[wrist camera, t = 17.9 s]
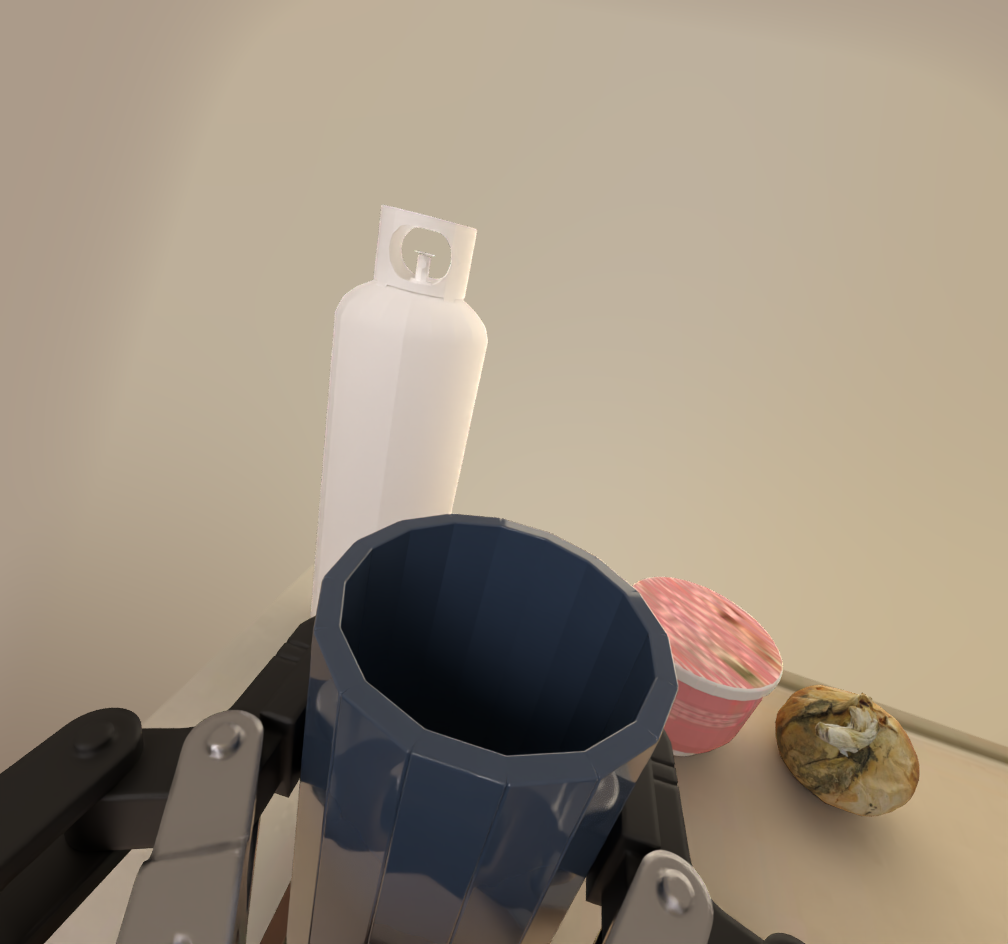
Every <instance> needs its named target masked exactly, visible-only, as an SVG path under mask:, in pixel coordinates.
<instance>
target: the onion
mask: <svg viewBox="0 0 1008 944" xmlns="http://www.w3.org/2000/svg"><path fill="white" fill-rule="evenodd" d="M775 723H776V739H777V744H778V748H779V751H780V755H781V758H782V759H783V761H784V762H785V764H786V765H787V767H788V768H789V770H790V771H791V773H792V774H793V775H794V776H795V778H796V779H797V780H798V781H799V782H800V783H801V784H802V785H804V786H805V787H806V788H807V789H809V790H810V791H811V792H813V793H814V794H815V795H816V796H818V797H819V798H820V799H821V800H822V801H823V802H825V803H827V804H829V805H831V806H834V807H837V808H840V809H842V810H845V811H848V812H851V813H854V814H857V815H860V816H870V817H872V816H879V815H882V814H886V813H890V812H892V811H894V810H895V809H897V808H899V807H901V806H903V805H905V804H906V803H907V802H908V801H909V800H910V799H911V797H912V796H913V794H914V792H915V789H916V786H917V783H918V781H919V762H918V758H917V755H916V752H915V750H914V748H913V746H912V743H911V741H910V739H909V737H908V735H907V734H906V732H905V731H904V730H903V728H902V727H901V725H900V724H899V722H898V721H897V720H896V719H895V718H894V717H892V716H891V715H890V714H888V713H887V712H886V711H884V710H883V709H882V708H881V707H880V706H878V705H877V704H875V703H874V702H873V701H872V698H871V697H867V696H866V694H863V693H862V694H861V695H858V694H855V693H851V692H848V691H844V690H840V689H836V688H832V687H826V686H823V685H815V686H810V687H806V688H804V689H801V690H798V691H797V692H795V693H794V694H792V695H791V696H790V698H789V699H788V700H787V702H786V703H785V704H784V705H783V707H782V708H781V709H780V710H779V711H778V714H777V719H776V722H775Z"/></svg>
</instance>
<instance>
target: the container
mask: <svg viewBox="0 0 1008 944" xmlns="http://www.w3.org/2000/svg"><path fill="white" fill-rule="evenodd" d="M632 586H633V587H634V588H635V589H636V590H637V591H638V592H639V593H640V594H641V596H642V597H643V599H644V600H645V602H646V603H647V605H648V606H649V608H650V609H651V611H652V612H653V613H654V615H655V616H656V618H657V619H658V621H659V622H660V624H661V625H662V627H663V628H664V630H665V631H666V633H667V635H668V637H669V641H670V646H671V651H672V656H673V661H674V666H675V671H676V676H677V681H678V693H677V696H676V698H675V701H674V703H673V706H672V709H671V711H670V714H669V716H668V719H667V722H666V724H665V727H664V730H665V731H666V733H667V735H668V737H669V739H670V741H671V744H672V750H673V755H676V756H691V755H695V754H699V753H705V752H709V751H711V750H714V749H716V748H718V747H720V746H723V745H725V744H727V743H729V742H730V741H731V740H732V739H733V738H734V737H735V736H736V734H737V733H738V732H739V730H740V729H741V728H742V726H743V725H744V724H745V722H746V721H747V720H748V718H749V717H750V715H751V714H752V713H753V711H754V710H755V709H756V707H757V706H758V705H759V703H760V702H761V701H762V698H763V697H765V696H767V695H769V694H770V693H771V692H772V691H773V690H774V689H775V688H776V686H777V684H778V683H779V681H780V679H781V676H782V673H783V661H782V658H781V655H780V652H779V650H778V648H777V646H776V644H775V643H774V641H773V639H772V638H771V637H770V636H769V634H768V633H767V631H766V630H765V629H764V628H763V627H762V626H761V625H760V624H759V623H758V622H757V621H756V620H755V619H754V618H753V617H752V616H751V615H749V614H748V613H747V612H746V611H745V610H743V609H742V608H740V607H739V606H737V605H736V604H734V603H733V602H732V601H730V600H729V599H727V598H725V597H723V596H722V595H720V594H718V593H716V592H714V591H712V590H710V589H708V588H705V587H703V586H701V585H698V584H695V583H692V582H689V581H685V580H681V579H677V578H670V577H650V578H645V579H642V580H640V581H638V582H636V583H635V584H633V585H632Z"/></svg>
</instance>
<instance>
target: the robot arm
mask: <svg viewBox="0 0 1008 944" xmlns="http://www.w3.org/2000/svg"><path fill="white" fill-rule="evenodd" d="M315 616H316V615H315ZM315 616H314V617H312V618H310V619H308V620H307V621H305V622H303V623H302V624H300V625H299V627H298V628H297V629H296V630H295V631H294V633H293V634H292V635H291V636H290V637H289V639H288V640H287V643H284V645H283V646H282V647H281V648H280V649H279V651H278V652H277V654H276V656H274V657H273V658H272V659H271V660H270V661H269V663H268V664H267V665H266V666H265V667H264V669H263V670H262V671H261V672H260V673H259V675H258V676H257V677H256V678H255V679H254V681H253V682H252V683H251V684H250V685H249V687H248V688H247V689H246V690H245V691H244V693H243V694H242V695H241V696H240V697H239V699H238V700H237V701H236V702H235V703H234V705H233V706H232V707H231V708H230V709H229V710H227V711H223V712H220V713H216V714H214V715H212V716H210V717H208V718H206V719H204V720H203V721H201V722H200V723H199V724H197V725H196V726H195V727H189V728H148V729H142V727H141V721H140V719H139V717H138V716H137V715H136V714H135V713H133V712H132V711H130V710H127V709H123V708H105V709H100V710H96V711H93V712H90V713H87V714H85V715H82V716H80V717H78V718H76V719H75V720H73V721H71V722H70V723H68V724H67V725H65V726H64V727H63V728H61V729H60V730H59V731H58V732H56V733H55V734H53V735H52V736H51V737H49V738H48V739H47V740H45V741H44V742H43V743H41V744H40V745H39V746H37V747H36V748H34V749H33V750H32V751H30V752H29V753H28V754H26V755H25V756H24V757H22V758H21V759H20V760H19V761H17V762H16V763H14V764H13V765H12V766H10V767H9V768H8V769H6V770H5V771H4V772H2V773H1V774H0V944H44V943H45V942H46V941H47V940H48V939H49V938H50V937H51V936H52V934H53V933H54V932H55V931H56V930H57V929H58V928H59V927H60V926H61V925H62V924H63V923H64V922H65V920H66V919H67V918H68V917H69V916H70V915H71V914H72V913H73V912H74V911H75V910H76V909H77V908H78V906H79V905H80V904H81V903H82V902H83V901H84V900H85V899H86V898H87V897H88V896H89V895H90V894H91V892H92V891H93V890H94V889H95V888H96V887H97V886H98V885H99V884H100V883H101V882H102V881H103V880H104V878H105V877H106V876H107V875H108V874H109V873H110V872H111V871H112V870H113V869H114V868H115V867H116V866H117V864H118V863H119V862H120V861H121V860H122V859H123V858H124V857H125V856H126V855H127V854H128V853H129V852H130V851H131V849H145V848H153V851H152V854H151V856H150V858H149V859H148V860H147V861H144V862H143V864H142V865H141V867H140V869H139V872H138V874H137V877H136V879H135V882H134V885H133V888H132V892H131V895H130V898H129V902H128V905H127V908H126V912H125V915H124V918H123V922H122V925H121V928H120V932H119V935H118V938H117V942H116V944H246V934H247V924H248V915H249V907H250V899H251V891H252V883H253V875H254V867H255V859H256V851H257V843H258V835H259V827H260V819H261V814H262V812H263V811H264V809H265V808H266V806H267V804H268V803H269V801H270V799H271V798H272V796H273V794H274V793H277V794H279V795H282V796H285V797H288V798H289V796H290V794H291V792H292V791H293V789H294V787H295V786H296V784H297V782H298V780H299V779H300V775H301V763H302V752H303V740H304V729H305V717H306V706H307V694H308V683H309V671H310V660H311V648H312V637H313V627H314V622H315ZM674 765H675V762H674V756H673V750H672V744H671V741H670V739H669V737H668V735H667V733H666V731H665V730H664V729H663V732H662V735H661V737H660V740H659V742H658V743H657V745H656V747H655V749H654V751H653V753H652V755H651V757H650V758H649V760H648V762H647V764H646V766H645V768H644V770H643V771H642V773H641V775H640V777H639V779H638V781H637V783H636V784H635V786H634V788H633V790H632V792H631V794H630V796H629V797H628V799H627V801H626V803H625V805H624V807H623V809H622V811H621V812H620V814H619V816H618V818H617V820H616V822H615V824H614V825H613V827H612V829H611V831H610V833H609V835H608V837H607V838H606V840H605V842H604V844H603V846H602V848H601V850H600V851H599V853H598V855H597V857H596V859H595V861H594V863H593V865H592V866H591V868H590V870H589V872H588V874H587V876H586V901H588V902H591V903H594V904H597V905H599V906H602V928H601V929H600V931H599V933H598V934H597V936H596V938H595V940H594V943H593V944H805V943H803V942H802V941H800V940H799V939H797V938H795V937H793V936H791V935H788V934H785V933H775V934H772V935H770V936H768V937H767V938H766V939H765V941H764V940H763V939H761V938H760V937H758V936H757V935H756V934H754V933H753V932H751V931H750V930H749V929H747V928H746V927H744V926H743V925H742V924H740V923H739V922H737V921H736V920H735V919H733V918H732V917H730V916H729V915H728V914H726V913H725V912H724V911H723V910H721V909H720V908H719V907H718V906H717V905H716V904H715V903H714V902H713V900H712V899H711V898H710V894H709V892H708V890H707V887H706V885H705V884H704V882H703V880H702V879H701V877H700V876H699V874H698V873H697V872H696V871H695V869H694V868H693V867H692V864H691V859H690V855H689V849H688V843H687V836H686V830H685V824H684V818H683V812H682V805H681V799H680V793H679V787H677V783H678V781H677V775H676V768H674Z"/></svg>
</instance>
